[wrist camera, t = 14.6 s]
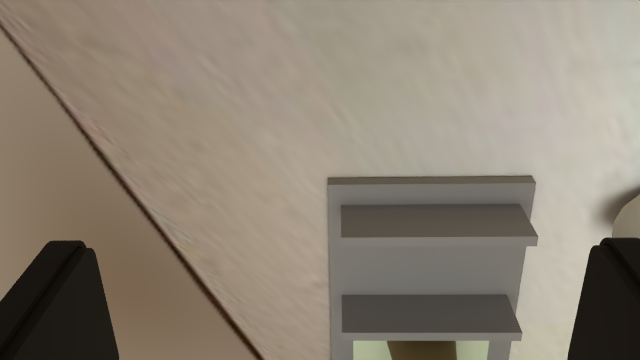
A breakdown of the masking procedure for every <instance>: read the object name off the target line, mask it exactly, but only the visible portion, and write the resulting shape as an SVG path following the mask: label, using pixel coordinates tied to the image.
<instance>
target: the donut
mask: <svg viewBox="0 0 640 360" xmlns="http://www.w3.org/2000/svg"><path fill="white" fill-rule="evenodd" d="M622 237H635V238H639V239H640V194H639V195H638V196H637V197H635V198H634V199H633V200H631V201H630V202H629V203H627V204H626V205H625V206H624V207H623V208H622V210H621V211H620V213H619V214H618V215H617V217H616V219H615V221H614V225H613V232H612V238H622Z"/></svg>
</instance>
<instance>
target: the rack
mask: <svg viewBox="0 0 640 360" xmlns="http://www.w3.org/2000/svg"><path fill="white" fill-rule="evenodd" d="M535 186H536V182H535V181H534V179H533V178H532V176H494V177H386V178H328V222H329V270H330V319H331V360H392V358H391V355H390V351H389V348H388V345H387V341H456V353H457V360H508V359H509V353H510V347H511V341H521V338H522V331H521V328H520V326H519V323H518V321H517V319H516V316H515V314H516V308H517V302H518V295H519V289H520V282H521V276H522V270H523V263H524V257H525V250H526V246H537V241H538V235H537V233H536V232H535V230H534V228H533V226H532V225H531V223H530V218H531V212H532V205H533V199H534V193H535Z"/></svg>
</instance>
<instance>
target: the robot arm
mask: <svg viewBox="0 0 640 360" xmlns="http://www.w3.org/2000/svg"><path fill="white" fill-rule="evenodd" d="M0 360H119V353H118V349H117V345H116V341H115V336H114V332H113V327H112V323H111V319H110V315H109V310H108V306H107V302H106V297H105V293H104V289H103V284H102V280H101V276H100V271H99V267H98V263H97V258H96V254H95V252H94V250H93V249H92V248H86V245H85V244H84V242H82V241H50V242H49V243H47V244H46V245H45V246H44V248H43V249H42V250H41V251H40V253H39V254H38V255H37V256H36V258H35V259H34V260H33V262H32V263H31V264H30V265H29V266H28V268H27V269H26V270H25V272H24V273H23V274H22V275H21V276H20V278H19V279H18V280H17V281H16V283H15V284H14V285H13V286H12V288H11V289H10V290H9V292H8V293H7V294H6V295H5V297H4V298H3V299H2V300H1V301H0ZM568 360H640V239H639V238H635V237H622V238H604V239H603V240H602V241H601V243H600V245H595V246H593V247H592V248H591V250H590V254H589V259H588V263H587V268H586V273H585V277H584V282H583V287H582V291H581V296H580V301H579V305H578V310H577V315H576V319H575V324H574V329H573V333H572V338H571V343H570V347H569V352H568Z"/></svg>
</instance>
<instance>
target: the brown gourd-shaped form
mask: <svg viewBox="0 0 640 360" xmlns="http://www.w3.org/2000/svg"><path fill="white" fill-rule="evenodd" d="M387 345H388V348H389V351H390V355H391V358H392V360H457V353H456V341H387Z"/></svg>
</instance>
